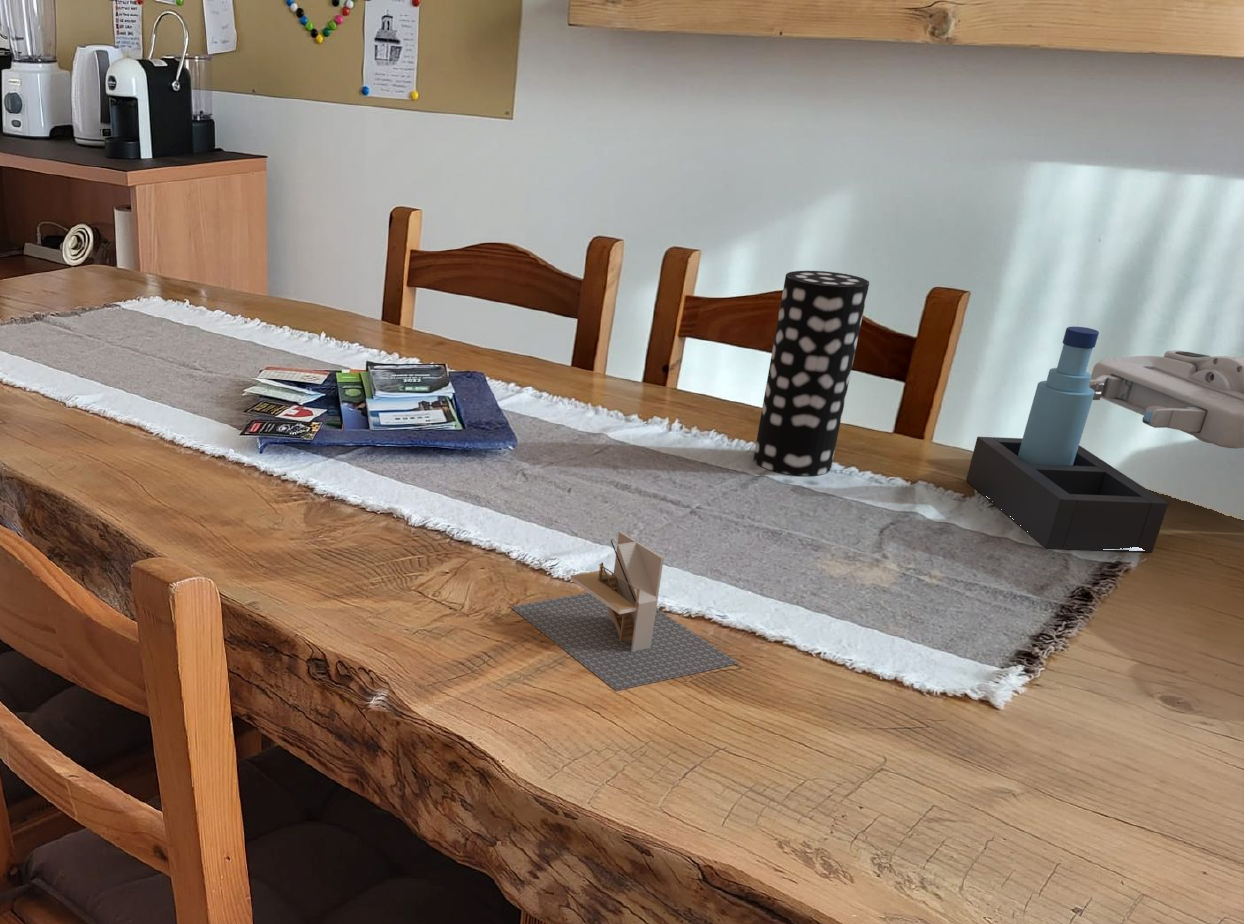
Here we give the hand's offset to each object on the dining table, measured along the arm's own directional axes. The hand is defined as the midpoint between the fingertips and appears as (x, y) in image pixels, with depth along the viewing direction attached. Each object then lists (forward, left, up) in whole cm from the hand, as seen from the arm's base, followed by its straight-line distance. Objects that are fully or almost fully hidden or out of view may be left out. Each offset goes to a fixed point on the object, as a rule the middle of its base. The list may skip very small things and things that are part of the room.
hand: (1114, 403), depth 127 cm
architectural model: (+55, +37, -10) cm, 67 cm away
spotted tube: (+29, -7, -10) cm, 32 cm away
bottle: (+6, +1, -10) cm, 12 cm away
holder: (+6, +6, -10) cm, 13 cm away
